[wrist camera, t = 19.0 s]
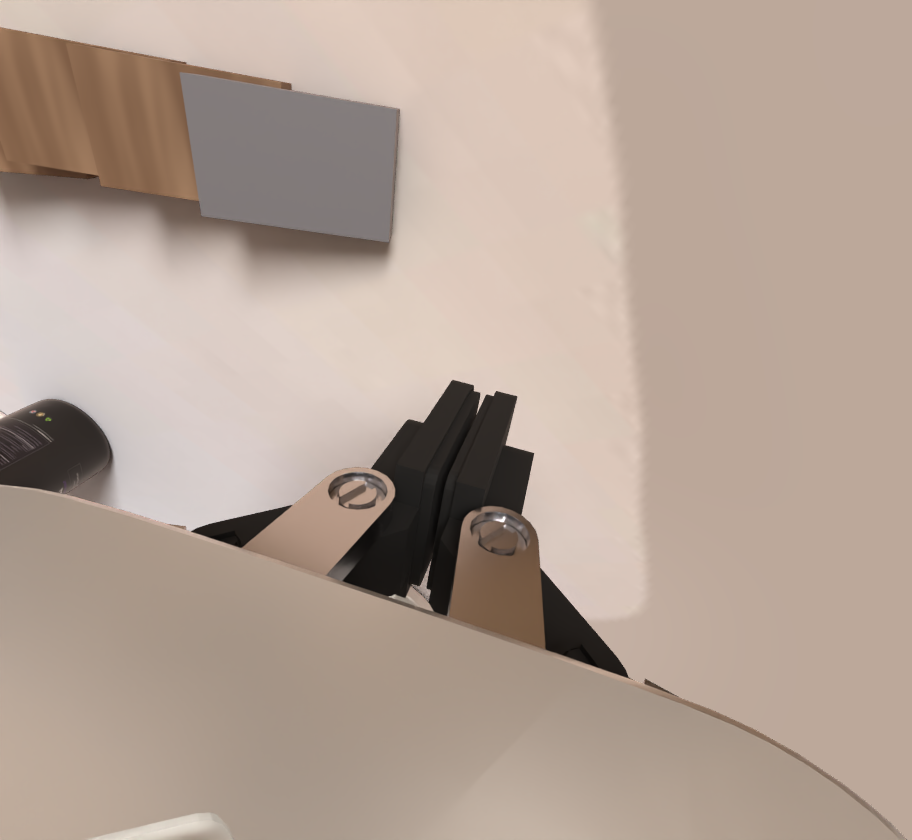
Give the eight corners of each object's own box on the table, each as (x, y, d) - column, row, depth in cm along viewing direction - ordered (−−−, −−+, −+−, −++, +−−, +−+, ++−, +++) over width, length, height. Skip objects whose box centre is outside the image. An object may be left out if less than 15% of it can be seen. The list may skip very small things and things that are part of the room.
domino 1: (168, 59, 19) (-41, 20, 19) (187, 190, 22) (6, 160, 21) (186, 62, 21) (-8, 25, 20) (202, 185, 24) (32, 157, 23)
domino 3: (396, 109, 18) (179, 72, 17) (388, 242, 21) (201, 216, 20) (399, 108, 19) (198, 74, 18) (391, 234, 22) (216, 208, 21)
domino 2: (280, 82, 19) (65, 42, 18) (287, 214, 22) (101, 186, 21) (291, 83, 20) (91, 47, 19) (295, 207, 23) (121, 180, 22)
